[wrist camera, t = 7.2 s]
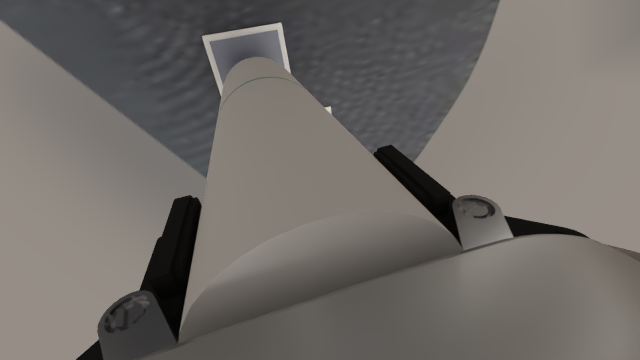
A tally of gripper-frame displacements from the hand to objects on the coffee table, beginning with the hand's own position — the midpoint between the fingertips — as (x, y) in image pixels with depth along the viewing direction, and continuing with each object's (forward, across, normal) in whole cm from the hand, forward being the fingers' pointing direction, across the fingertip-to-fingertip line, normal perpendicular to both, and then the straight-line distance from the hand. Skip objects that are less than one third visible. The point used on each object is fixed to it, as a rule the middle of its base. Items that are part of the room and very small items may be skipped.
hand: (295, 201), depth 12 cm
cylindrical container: (+19, 0, 0) cm, 19 cm away
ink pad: (+33, 0, 0) cm, 33 cm away
